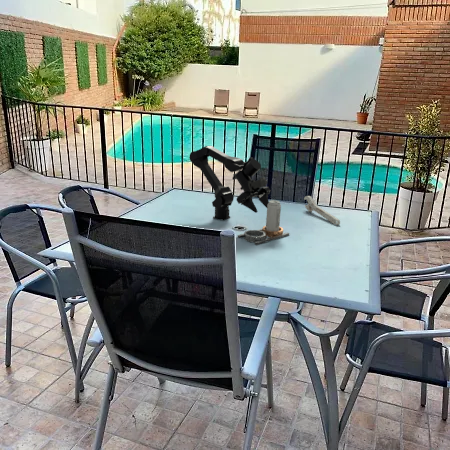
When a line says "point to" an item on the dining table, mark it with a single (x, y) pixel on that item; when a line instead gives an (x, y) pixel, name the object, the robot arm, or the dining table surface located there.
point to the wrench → (320, 211)
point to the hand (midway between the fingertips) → (263, 210)
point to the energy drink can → (273, 215)
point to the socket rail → (262, 235)
